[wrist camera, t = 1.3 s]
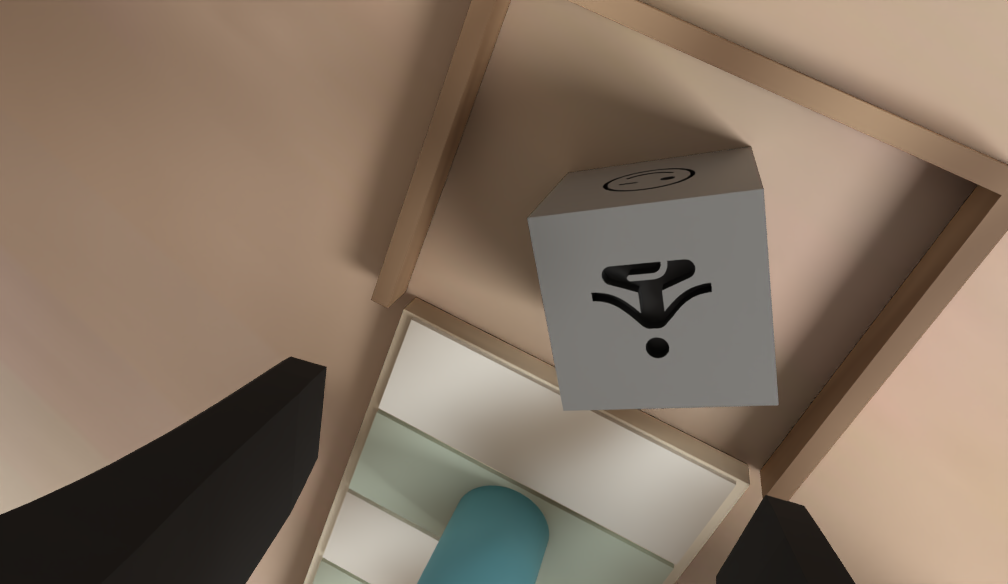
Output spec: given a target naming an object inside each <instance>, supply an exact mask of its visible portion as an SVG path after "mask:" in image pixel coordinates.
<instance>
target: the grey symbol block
mask: <svg viewBox="0 0 1008 584" xmlns="http://www.w3.org/2000/svg"><path fill="white" fill-rule="evenodd" d="M527 220H528V225H529V231H530V236H531V241H532V247H533V252H534V257H535V263H536V268H537V273H538V279H539V284H540V289H541V294H542V300H543V305H544V310H545V316H546V321H547V326H548V332H549V337H550V342H551V348H552V353H553V358H554V364H555V369H556V374H557V380H558V385H559V390H560V395H561V401H562V406H563V411H578V410H617V409H655V408H694V407H732V406H771V405H779V402H778V388H777V374H776V359H775V345H774V331H773V316H772V302H771V288H770V273H769V259H768V245H767V230H766V216H765V202H764V188H763V185H762V182H761V178H760V175H759V172H758V168H757V165H756V161H755V158H754V155H753V151H752V148H751V147H744V148H737V149H730V150H723V151H716V152H709V153H702V154H695V155H688V156H681V157H674V158H667V159H660V160H653V161H647V162H640V163H633V164H626V165H619V166H612V167H605V168H598V169H591V170H584V171H577V172H570V173H568V174H567V175H566V176H565V177H564V178H563V179H562V180H561V181H560V182H559V184H558V185H557V186H556V187H555V188H554V189H553V190H552V191H551V192H550V193H549V195H548V196H547V197H546V198H545V199H544V200H543V201H542V202H541V203H540V204H539V206H538V207H537V208H536V209H535V210H534V211H533V212H532V213H531V214H530V215H529V217H528V218H527Z"/></svg>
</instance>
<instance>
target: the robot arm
mask: <svg viewBox="0 0 1008 584" xmlns="http://www.w3.org/2000/svg"><path fill="white" fill-rule="evenodd" d="M326 368H327V367H325V366H321V365H318V364H314V363H311V362H307V361H304V360H301V359H297V358H294V357H289V358H287V359H285V360H284V361H282V362H280V363H279V364H277V365H276V366H274V367H273V368H271V369H269V370H268V371H266V372H265V373H263V374H262V375H260V376H259V377H257V378H256V379H254V380H253V381H251V382H249V383H248V384H246V385H245V386H243V387H242V388H240V389H239V390H237V391H235V392H234V393H232V394H231V395H229V396H228V397H226V398H224V399H223V400H221V401H220V402H218V403H217V404H215V405H213V406H212V407H210V408H208V409H207V410H205V411H203V412H202V413H200V414H198V415H197V416H195V417H193V418H192V419H190V420H188V421H187V422H185V423H183V424H182V425H180V426H178V427H177V428H175V429H173V430H172V431H170V432H168V433H166V434H165V435H163V436H161V437H159V438H157V439H156V440H154V441H152V442H150V443H148V444H146V445H145V446H143V447H141V448H139V449H137V450H135V451H134V452H132V453H130V454H128V455H126V456H125V457H123V458H121V459H119V460H117V461H115V462H113V463H112V464H110V465H108V466H106V467H104V468H102V469H100V470H98V471H96V472H94V473H92V474H90V475H88V476H86V477H84V478H82V479H80V480H77V481H75V482H73V483H71V484H69V485H67V486H65V487H63V488H61V489H58V490H56V491H54V492H52V493H50V494H47V495H45V496H43V497H41V498H39V499H37V500H34V501H32V502H30V503H28V504H25V505H23V506H20V507H18V508H16V509H13V510H11V511H8V512H6V513H3V514H1V515H0V584H246V582H247V581H248V579H249V577H250V576H251V574H252V573H253V571H254V570H255V568H256V567H257V565H258V564H259V562H260V560H261V559H262V557H263V556H264V554H265V553H266V551H267V549H268V548H269V546H270V545H271V543H272V542H273V540H274V539H275V537H276V535H277V534H278V532H279V531H280V529H281V528H282V526H283V524H284V523H285V521H286V520H287V518H288V516H289V515H290V513H291V511H292V509H293V507H294V505H295V503H296V501H297V499H298V497H299V495H300V493H301V491H302V489H303V487H304V485H305V483H306V481H307V479H308V477H309V475H310V473H311V471H312V468H313V466H314V464H315V462H316V460H317V458H318V449H319V439H320V429H321V419H322V409H323V398H324V388H325V378H326ZM716 584H855V582H854V581H853V579H852V578H851V576H850V575H849V573H848V572H847V570H846V568H845V567H844V565H843V564H842V562H841V561H840V559H839V558H838V556H837V555H836V553H835V552H834V550H833V548H832V547H831V545H830V544H829V542H828V541H827V539H826V538H825V536H824V535H823V533H822V532H821V530H820V529H819V527H818V526H817V524H816V523H815V521H814V520H813V518H812V517H811V515H810V514H809V512H808V511H807V509H806V508H805V507H804V506H802V505H799V504H796V503H792V502H789V501H785V500H782V499H778V498H775V497H772V496H768V495H765V497H764V498H763V500H762V501H761V503H760V505H759V506H758V508H757V510H756V511H755V513H754V515H753V516H752V518H751V520H750V521H749V523H748V525H747V526H746V528H745V530H744V531H743V533H742V535H741V536H740V538H739V540H738V541H737V543H736V545H735V546H734V548H733V550H732V551H731V553H730V554H729V556H728V558H727V559H726V561H725V563H724V564H723V566H722V568H721V569H720V571H719V573H718V574H717V576H716Z"/></svg>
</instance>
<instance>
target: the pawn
mask: <svg viewBox="0 0 1008 584" xmlns="http://www.w3.org/2000/svg"><path fill="white" fill-rule="evenodd" d="M548 541H549V528H548V524H547V521H546V519H545V517H544V515H543V513H542V512H541V510H540V509H539V508H538V507H537V506H536V504H534V503H533V502H532V501H531V500H530V499H529V498H527V497H526V496H524V495H523V494H521V493H519V492H517V491H515V490H512V489H510V488H506V487H502V486H492V485H489V486H481V487H477V488H475V489H472V490H471V491H469V492H468V493H466V494H465V495H464V496H463V497H462V498H461V500H460V501H459V503H458V505H457V507H456V509H455V511H454V513H453V515H452V517H451V519H450V521H449V522H448V524H447V526H446V528H445V530H444V532H443V534H442V536H441V538H440V540H439V542H438V544H437V546H436V548H435V550H434V551H433V553H432V555H431V557H430V559H429V561H428V563H427V565H426V567H425V569H424V571H423V573H422V575H421V577H420V579H419V581H418V582H417V584H535V583H536V580H537V576H538V573H539V570H540V567H541V564H542V560H543V557H544V554H545V551H546V547H547V544H548Z"/></svg>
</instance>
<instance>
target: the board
mask: <svg viewBox="0 0 1008 584" xmlns="http://www.w3.org/2000/svg"><path fill="white" fill-rule="evenodd" d="M510 1H511V0H471V3H470V6H469V9H468V12H467V15H466V18H465V21H464V24H463V27H462V30H461V33H460V36H459V39H458V42H457V45H456V48H455V51H454V54H453V57H452V60H451V63H450V66H449V69H448V72H447V75H446V78H445V81H444V84H443V87H442V90H441V93H440V96H439V99H438V102H437V105H436V108H435V111H434V113H433V116H432V119H431V122H430V125H429V128H428V131H427V134H426V137H425V140H424V143H423V146H422V149H421V152H420V155H419V158H418V161H417V164H416V167H415V170H414V173H413V176H412V179H411V182H410V185H409V188H408V191H407V194H406V197H405V200H404V203H403V206H402V209H401V212H400V215H399V218H398V221H397V224H396V227H395V230H394V233H393V236H392V239H391V242H390V245H389V248H388V251H387V254H386V257H385V260H384V263H383V266H382V269H381V272H380V274H379V277H378V280H377V283H376V286H375V289H374V292H373V295H372V298H371V300H372V301H374V302H376V303H378V304H380V305H382V306H384V307H386V308H388V307H390V306H391V305H392V304H393V303H394V302H395V301H396V300H397V299H398V298H399V297H401V296H402V295H403V294H404V293H405V292H406V289H407V286H408V284H409V281H410V278H411V275H412V273H413V270H414V267H415V264H416V262H417V259H418V256H419V253H420V250H421V248H422V245H423V242H424V239H425V237H426V234H427V231H428V228H429V226H430V223H431V220H432V217H433V214H434V212H435V209H436V206H437V203H438V201H439V198H440V195H441V192H442V190H443V187H444V184H445V181H446V179H447V176H448V173H449V170H450V167H451V165H452V162H453V159H454V156H455V154H456V151H457V148H458V145H459V143H460V140H461V137H462V134H463V131H464V129H465V126H466V123H467V120H468V118H469V115H470V112H471V109H472V107H473V104H474V101H475V98H476V95H477V93H478V90H479V87H480V84H481V82H482V79H483V76H484V73H485V71H486V68H487V65H488V62H489V60H490V57H491V54H492V51H493V48H494V46H495V43H496V40H497V37H498V35H499V32H500V29H501V26H502V24H503V21H504V18H505V15H506V12H507V10H508V7H509V4H510ZM568 1H570V2H573V3H575V4H577V5H579V6H582V7H584V8H586V9H588V10H590V11H593V12H595V13H597V14H599V15H602V16H604V17H606V18H608V19H611V20H613V21H615V22H617V23H619V24H622V25H624V26H626V27H628V28H631V29H633V30H635V31H637V32H639V33H642V34H644V35H646V36H648V37H651V38H653V39H655V40H657V41H659V42H662V43H664V44H666V45H668V46H671V47H673V48H675V49H677V50H680V51H682V52H684V53H686V54H688V55H691V56H693V57H695V58H697V59H700V60H702V61H704V62H706V63H708V64H711V65H713V66H715V67H717V68H720V69H722V70H724V71H726V72H728V73H731V74H733V75H735V76H737V77H740V78H742V79H744V80H746V81H749V82H751V83H753V84H755V85H757V86H760V87H762V88H764V89H766V90H769V91H771V92H773V93H775V94H777V95H780V96H782V97H784V98H786V99H789V100H791V101H793V102H795V103H797V104H800V105H802V106H804V107H806V108H809V109H811V110H813V111H815V112H818V113H820V114H822V115H824V116H826V117H829V118H831V119H833V120H835V121H838V122H840V123H842V124H844V125H846V126H849V127H851V128H853V129H855V130H858V131H860V132H862V133H864V134H866V135H869V136H871V137H873V138H875V139H878V140H880V141H882V142H884V143H887V144H889V145H891V146H893V147H895V148H898V149H900V150H902V151H904V152H907V153H909V154H911V155H913V156H915V157H918V158H920V159H922V160H924V161H927V162H929V163H931V164H933V165H935V166H938V167H940V168H942V169H944V170H947V171H949V172H951V173H953V174H956V175H958V176H960V177H962V178H964V179H967V180H969V181H971V182H973V183H976V184H978V185H977V187H976V188H975V189H974V191H973V192H972V193H971V195H970V196H969V197H968V199H967V200H966V201H965V203H964V204H963V205H962V206H961V208H960V209H959V210H958V212H957V213H956V214H955V216H954V217H953V218H952V220H951V221H950V222H949V224H948V225H947V226H946V227H945V229H944V230H943V231H942V233H941V234H940V235H939V237H938V238H937V239H936V241H935V242H934V243H933V245H932V246H931V247H930V249H929V250H928V251H927V252H926V254H925V255H924V256H923V258H922V259H921V260H920V262H919V263H918V264H917V266H916V267H915V268H914V270H913V271H912V272H911V273H910V275H909V276H908V277H907V279H906V280H905V281H904V283H903V284H902V285H901V287H900V288H899V289H898V291H897V292H896V293H895V294H894V296H893V297H892V298H891V300H890V301H889V302H888V304H887V305H886V306H885V308H884V309H883V310H882V312H881V313H880V314H879V315H878V317H877V318H876V319H875V321H874V322H873V323H872V325H871V326H870V327H869V329H868V330H867V331H866V333H865V334H864V335H863V336H862V338H861V339H860V340H859V342H858V343H857V344H856V346H855V347H854V348H853V350H852V351H851V352H850V354H849V355H848V356H847V358H846V359H845V360H844V361H843V363H842V364H841V365H840V367H839V368H838V369H837V371H836V372H835V373H834V375H833V376H832V377H831V379H830V380H829V381H828V382H827V384H826V385H825V386H824V388H823V389H822V390H821V392H820V393H819V394H818V396H817V397H816V398H815V400H814V401H813V402H812V403H811V405H810V406H809V407H808V409H807V410H806V411H805V413H804V414H803V415H802V417H801V418H800V419H799V421H798V422H797V423H796V424H795V426H794V427H793V428H792V430H791V431H790V432H789V434H788V435H787V436H786V438H785V439H784V440H783V442H782V443H781V444H780V446H779V447H778V448H777V449H776V451H775V452H774V453H773V455H772V456H771V457H770V459H769V460H768V461H767V463H766V464H765V465H764V467H763V468H762V469H761V470H760V476H761V486H762V495H763V498H764V497H765V495H768V496H772V497H775V498H778V499H782V500H785V501H788V500H789V499H790V498H791V497H792V496H793V494H794V493H795V492H796V491H797V489H798V488H799V487H800V486H801V484H802V483H803V482H804V481H805V480H806V478H807V477H808V476H809V475H810V473H811V472H812V471H813V470H814V468H815V467H816V466H817V465H818V463H819V462H820V461H821V460H822V459H823V457H824V456H825V455H826V454H827V452H828V451H829V450H830V449H831V447H832V446H833V445H834V444H835V443H836V441H837V440H838V439H839V438H840V436H841V435H842V434H843V433H844V431H845V430H846V429H847V428H848V427H849V425H850V424H851V423H852V422H853V420H854V419H855V418H856V417H857V415H858V414H859V413H860V412H861V410H862V409H863V408H864V407H865V406H866V404H867V403H868V402H869V401H870V399H871V398H872V397H873V396H874V394H875V393H876V392H877V391H878V390H879V388H880V387H881V386H882V385H883V383H884V382H885V381H886V380H887V378H888V377H889V376H890V375H891V374H892V372H893V371H894V370H895V369H896V367H897V366H898V365H899V364H900V362H901V361H902V360H903V359H904V358H905V356H906V355H907V354H908V353H909V351H910V350H911V349H912V348H913V346H914V345H915V344H916V343H917V341H918V340H919V339H920V338H921V337H922V335H923V334H924V333H925V332H926V330H927V329H928V328H929V327H930V325H931V324H932V323H933V322H934V321H935V319H936V318H937V317H938V316H939V314H940V313H941V312H942V311H943V309H944V308H945V307H946V306H947V305H948V303H949V302H950V301H951V300H952V298H953V297H954V296H955V295H956V293H957V292H958V291H959V290H960V288H961V287H962V286H963V285H964V284H965V282H966V281H967V280H968V279H969V277H970V276H971V275H972V274H973V272H974V271H975V270H976V269H977V268H978V266H979V265H980V264H981V263H982V261H983V260H984V259H985V258H986V256H987V255H988V254H989V253H990V252H991V250H992V249H993V248H994V247H995V245H996V244H997V243H998V242H999V240H1000V239H1001V238H1002V237H1003V235H1004V234H1005V233H1006V232H1007V231H1008V165H1007V164H1005V163H1003V162H1000V161H998V160H996V159H994V158H991V157H989V156H987V155H985V154H982V153H980V152H978V151H976V150H973V149H971V148H969V147H967V146H964V145H962V144H960V143H958V142H955V141H953V140H951V139H949V138H946V137H944V136H942V135H940V134H937V133H935V132H933V131H931V130H928V129H926V128H924V127H922V126H919V125H917V124H915V123H913V122H910V121H908V120H906V119H904V118H901V117H899V116H897V115H895V114H892V113H890V112H888V111H886V110H883V109H881V108H879V107H877V106H874V105H872V104H870V103H868V102H865V101H863V100H861V99H859V98H856V97H854V96H852V95H850V94H847V93H845V92H843V91H841V90H838V89H836V88H834V87H832V86H829V85H827V84H825V83H823V82H821V81H818V80H816V79H814V78H812V77H809V76H807V75H805V74H803V73H800V72H798V71H796V70H794V69H791V68H789V67H787V66H785V65H782V64H780V63H778V62H776V61H773V60H771V59H769V58H767V57H764V56H762V55H760V54H758V53H755V52H753V51H751V50H749V49H746V48H744V47H742V46H740V45H737V44H735V43H733V42H731V41H728V40H726V39H724V38H722V37H719V36H717V35H715V34H713V33H710V32H708V31H706V30H704V29H701V28H699V27H697V26H695V25H692V24H690V23H688V22H686V21H683V20H681V19H679V18H677V17H674V16H672V15H670V14H668V13H665V12H663V11H661V10H659V9H656V8H654V7H652V6H650V5H647V4H645V3H643V2H641V1H638V0H568ZM489 485H492V486H502V487H506V488H510V489H512V490H515V491H517V492H519V493H521V494H523V495H524V496H526V497H527V498H529V499H530V500H531V501H532V502H533V503H534V504H536V506H537V507H538V508H539V509H540V510H541V512H542V513H543V515H544V517H545V519H546V521H547V524H548V528H549V541H548V544H547V547H546V551H545V554H544V557H543V560H542V564H541V567H540V570H539V573H538V576H537V580H536V583H535V584H675V582H676V581H677V580H678V579H679V577H680V576H681V575H682V573H683V572H684V571H685V569H686V568H687V567H688V565H689V564H690V563H691V561H692V560H693V559H694V558H695V556H696V555H697V554H698V552H699V551H700V550H701V548H702V547H703V546H704V544H705V543H706V542H707V540H708V539H709V538H710V537H711V535H712V534H713V533H714V531H715V530H716V529H717V527H718V526H719V525H720V523H721V522H722V521H723V519H724V518H725V517H726V516H727V514H728V513H729V512H730V510H731V509H732V508H733V506H734V505H735V504H736V502H737V501H738V500H739V498H740V497H741V496H742V495H743V493H744V492H745V491H746V489H747V488H748V487H749V485H750V480H749V468H748V465H747V464H745V463H743V462H741V461H739V460H737V459H735V458H733V457H731V456H729V455H727V454H725V453H723V452H721V451H719V450H717V449H715V448H713V447H711V446H709V445H707V444H705V443H703V442H701V441H699V440H697V439H695V438H693V437H691V436H689V435H687V434H685V433H683V432H682V431H680V430H678V429H676V428H674V427H672V426H670V425H668V424H666V423H664V422H662V421H660V420H658V419H656V418H654V417H652V416H650V415H648V414H646V413H644V412H642V411H640V410H638V409H617V410H578V411H563V406H562V401H561V395H560V390H559V385H558V380H557V374H556V369H555V367H553V366H551V365H549V364H547V363H545V362H543V361H541V360H539V359H537V358H535V357H533V356H531V355H529V354H527V353H525V352H523V351H521V350H519V349H517V348H515V347H513V346H511V345H509V344H507V343H505V342H503V341H502V340H500V339H498V338H496V337H494V336H492V335H490V334H488V333H486V332H484V331H482V330H480V329H478V328H476V327H474V326H472V325H470V324H468V323H466V322H464V321H462V320H460V319H458V318H456V317H454V316H452V315H450V314H448V313H446V312H444V311H442V310H440V309H438V308H436V307H434V306H432V305H430V304H428V303H426V302H424V301H422V300H420V299H418V298H415V299H414V300H413V301H412V302H411V303H410V304H408V305H407V306H406V307H405V308H404V310H403V313H402V315H401V318H400V321H399V324H398V326H397V329H396V332H395V335H394V337H393V340H392V343H391V346H390V348H389V351H388V354H387V356H386V359H385V362H384V365H383V367H382V370H381V373H380V376H379V378H378V381H377V384H376V387H375V389H374V392H373V395H372V398H371V400H370V403H369V406H368V409H367V411H366V414H365V417H364V419H363V422H362V425H361V428H360V430H359V433H358V436H357V439H356V441H355V444H354V447H353V450H352V452H351V455H350V458H349V461H348V463H347V466H346V469H345V472H344V474H343V477H342V480H341V482H340V485H339V488H338V491H337V493H336V496H335V499H334V502H333V504H332V507H331V510H330V513H329V515H328V518H327V521H326V524H325V526H324V529H323V532H322V535H321V537H320V540H319V543H318V545H317V548H316V551H315V554H314V556H313V559H312V562H311V565H310V567H309V570H308V573H307V576H306V578H305V581H304V584H417V582H418V581H419V579H420V577H421V575H422V573H423V571H424V569H425V567H426V565H427V563H428V561H429V559H430V557H431V555H432V553H433V551H434V550H435V548H436V546H437V544H438V542H439V540H440V538H441V536H442V534H443V532H444V530H445V528H446V526H447V524H448V522H449V521H450V519H451V517H452V515H453V513H454V511H455V509H456V507H457V505H458V503H459V501H460V500H461V498H462V497H463V496H464V495H465V494H466V493H468V492H469V491H471V490H472V489H475V488H477V487H481V486H489Z"/></svg>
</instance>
